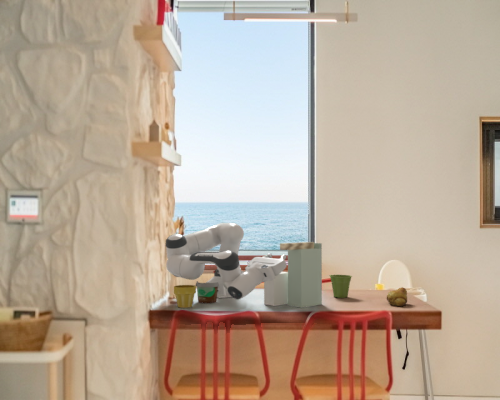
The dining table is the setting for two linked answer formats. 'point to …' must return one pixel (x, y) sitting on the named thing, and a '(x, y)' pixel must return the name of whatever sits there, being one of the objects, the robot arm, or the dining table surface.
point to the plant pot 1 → (184, 295)
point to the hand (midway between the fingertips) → (277, 255)
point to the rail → (296, 246)
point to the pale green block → (305, 277)
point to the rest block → (276, 290)
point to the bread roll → (397, 297)
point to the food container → (207, 292)
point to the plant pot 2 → (340, 285)
